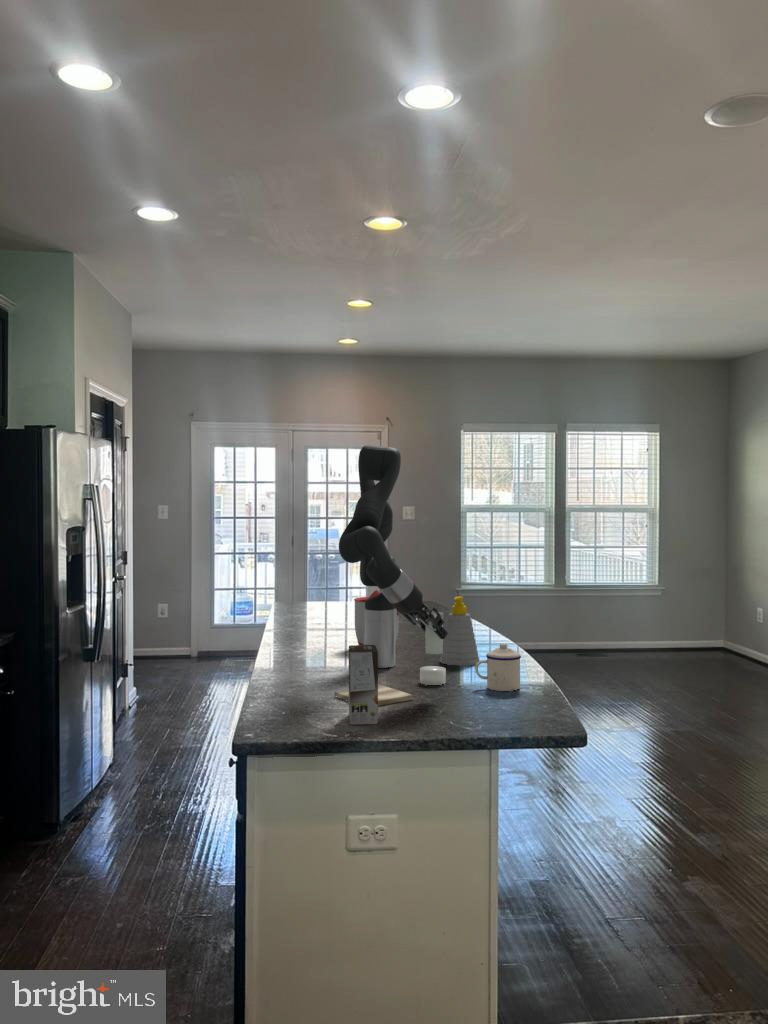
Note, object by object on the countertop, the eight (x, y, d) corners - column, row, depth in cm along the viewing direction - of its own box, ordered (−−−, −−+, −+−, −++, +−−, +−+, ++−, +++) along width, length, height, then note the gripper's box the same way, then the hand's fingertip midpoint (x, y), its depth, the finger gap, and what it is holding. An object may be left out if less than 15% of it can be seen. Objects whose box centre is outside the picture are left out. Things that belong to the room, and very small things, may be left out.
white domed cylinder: (414, 682, 211) (414, 667, 211) (435, 679, 215) (435, 665, 215) (430, 687, 205) (430, 672, 205) (450, 684, 209) (450, 669, 209)
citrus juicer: (405, 652, 257) (404, 592, 257) (352, 652, 257) (352, 592, 257) (404, 644, 272) (404, 587, 272) (355, 644, 272) (354, 587, 273)
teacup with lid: (518, 684, 208) (517, 641, 208) (523, 692, 199) (523, 646, 199) (473, 684, 208) (473, 641, 208) (477, 692, 199) (477, 647, 199)
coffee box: (378, 724, 169) (378, 651, 169) (349, 725, 168) (349, 651, 168) (375, 713, 178) (375, 644, 178) (348, 714, 178) (347, 644, 178)
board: (334, 696, 195) (334, 692, 195) (380, 689, 203) (380, 684, 203) (365, 708, 183) (365, 703, 183) (412, 699, 191) (412, 694, 191)
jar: (420, 652, 196) (420, 612, 196) (435, 650, 199) (435, 611, 199) (432, 655, 192) (432, 615, 192) (447, 653, 195) (447, 613, 195)
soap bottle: (434, 664, 236) (433, 597, 236) (446, 657, 247) (446, 593, 248) (473, 667, 231) (473, 599, 231) (484, 660, 243) (484, 595, 243)
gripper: (426, 581, 185) (465, 627, 192) (392, 577, 197) (429, 620, 204) (409, 605, 182) (448, 651, 189) (374, 599, 194) (413, 642, 201)
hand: (438, 635), depth 196 cm, fingers closed on jar, 4 cm apart
